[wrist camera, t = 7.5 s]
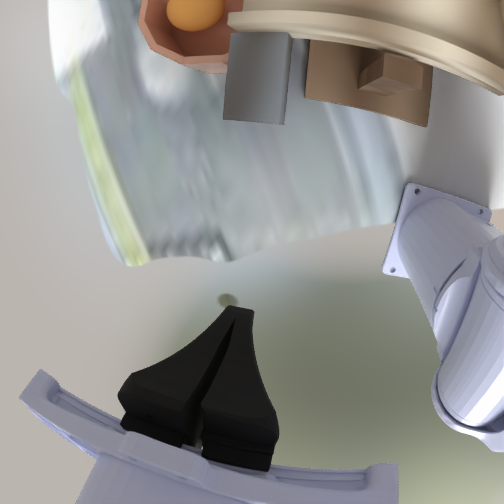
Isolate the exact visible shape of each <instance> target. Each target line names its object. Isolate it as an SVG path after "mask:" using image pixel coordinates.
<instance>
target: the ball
mask: <svg viewBox="0 0 504 504" xmlns="http://www.w3.org/2000/svg"><path fill="white" fill-rule="evenodd" d="M224 11H225V0H169V1H168V4H167V9H166V12H167V17H168V19H169V21H170V22H171V23H172V24H173V25H174V26H175V27H177V28H179V29H181V30H184V31H189V32H197V31H202V30H205V29H208V28H210V27H212V26H213V25H215V24H216V23H217V22H218V21H219V20H220V19H221V17H222V16H223V14H224Z"/></svg>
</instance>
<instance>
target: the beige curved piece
mask: <svg viewBox="0 0 504 504" xmlns="http://www.w3.org/2000/svg"><path fill="white" fill-rule="evenodd" d="M227 25H229V26H230V27H232V28H234V29H235V30H237V31H238V32H240V33H231V37H230V46H229V56H228V66H227V76H226V87H225V99H224V111H223V120H238V121H250V122H260V123H269V124H278V125H284V120H285V111H286V101H287V92H288V82H289V72H290V62H291V51H292V40H293V38H302V39H314V40H323V41H331V42H339V43H345V44H351V45H357V46H362V47H367V48H372V49H376V50H381V51H385V52H389V53H393V54H397V55H400V56H404V57H407V58H411V59H414V60H417V61H420V62H423V63H426V64H429V65H432V66H435V67H437V68H440V69H443V70H445V71H448V72H450V73H453V74H455V75H457V76H460V77H462V78H464V79H467V80H469V81H471V82H473V83H475V84H477V85H479V86H481V87H483V88H485V89H487V90H489V91H491V92H493V93H495V94H497V95H498V96H501V95H504V0H244V2H243V10H242V12H231V13H228V21H227Z"/></svg>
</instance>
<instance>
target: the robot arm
mask: <svg viewBox="0 0 504 504" xmlns="http://www.w3.org/2000/svg"><path fill="white" fill-rule="evenodd" d="M417 188H418V189H419V191H418V193H415V189H417ZM480 209H481V212H480V213H479V210H480ZM491 215H492V212H491V210H490V209H489V208H487V207H484V206H481V205H479V204H476V203H473V202H471V201H468V200H465V199H462V198H459V197H456V196H454V195H451V194H448V193H444V192H441V191H438V190H435V189H432V188H428V187H425V186H422V185H418V184H415V183H408V184H407V185H406V187H405V190H404V194H403V198H402V202H401V206H400V210H399V213H398V217H397V220H396V224H395V227H394V231H393V234H392V237H391V240H390V243H389V247H388V250H387V253H386V256H385V259H384V262H383V264H382V271H383V273H385V274H388V275H394V276H400V277H406V278H410V280H411V282H412V284H413V286H414V288H415V290H416V293H417V295H418V297H419V299H420V301H421V303H422V306H423V308H424V310H425V312H426V315H427V317H428V319H429V322H430V324H431V326H432V329H433V331H434V334H435V337H436V339H437V341H438V346H437V351H438V354H439V357H440V360H441V362H442V363H441V365H440V367H439V369H438V370H437V372H436V373H435V376H434V378H433V383H432V400H433V403H434V407H435V409H436V411H437V413H438V415H439V416H440V418H441V419H442V420H443V421H444V422H445V423H446V424H447V425H448V426H450V427H451V428H452V429H454V430H456V431H458V432H462V433H466V434H469V435H472V436H474V437H477V438H478V439H480V440H481V441H483V442H484V443H485V444H486V445H487V446H488V447H489V448H490V449H491V450H492V451H494V452H504V234H503V233H502V232H501V231H500V230H499V229H497V228H496V227H495V226H494V225H493V224H491V223H490V219H491ZM391 268H394V270H392V271H391V270H390V269H391ZM253 319H254V311H253V310H250V309H245V308H240V307H235V306H231V305H229V306H227V307H226V308H225V310H224V311H223V312H222V313H221V314H220V316H219V317H218V318H217V319H216V320H215V321H214V322H213V323H212V324H211V325H210V326H209V327H208V328H207V329H206V330H205V331H204V332H203V333H202V334H200V335H199V336H198V337H197V338H196V339H195V340H193V341H192V342H191V343H189V344H188V345H187V346H185V347H184V348H183V349H181V350H180V351H178V352H176V353H175V354H173V355H172V356H170V357H168V358H166V359H165V360H162V361H160V362H159V363H156V364H154V365H152V366H150V367H147V368H145V369H142V370H139V371H137V372H134V373H131V375H130V376H129V377H128V378H127V380H126V381H125V382H124V384H123V386H122V387H121V389H120V391H119V392H118V399H119V401H120V403H121V405H122V406H123V408H124V409H125V411H126V413H125V415H124V417H123V418H122V420H120V419H118V418H116V417H114V416H112V415H110V414H108V413H106V412H104V411H102V410H100V409H98V408H96V407H94V406H92V405H90V404H88V403H87V402H85V401H83V400H81V399H80V398H78V397H76V396H75V395H73V394H71V393H70V392H68V391H66V390H65V389H63V388H61V387H60V385H59V383H58V382H57V381H56V380H55V379H54V378H53V377H52V376H51V375H49V374H48V373H46V372H45V371H43V370H41V369H40V370H39V371H38V372H37V374H36V375H35V376H34V378H33V379H32V380H31V381H30V383H29V384H28V386H27V387H26V388H25V389H24V391H23V392H22V394H21V395H20V396H19V399H20V400H21V401H22V402H23V403H24V404H25V405H26V406H27V408H28V409H29V410H30V411H31V412H32V413H33V414H34V415H35V416H36V417H37V418H38V419H39V420H41V421H42V422H43V423H44V424H46V425H47V426H48V427H50V428H51V429H53V430H54V431H55V432H56V433H58V434H59V435H60V436H62V437H63V438H65V439H66V440H68V441H69V442H70V443H72V444H73V445H75V446H76V447H78V448H79V449H81V450H82V451H84V452H85V453H87V454H89V455H90V456H92V457H94V458H95V459H97V461H96V463H95V465H94V467H93V469H92V471H91V473H90V475H89V477H88V479H87V481H86V483H85V485H84V487H83V489H82V491H81V493H80V495H79V497H78V499H77V501H76V503H75V504H398V463H396V462H394V463H382V464H374V465H371V466H369V467H368V468H367V469H361V470H360V469H359V470H332V469H311V468H298V467H288V466H280V465H272V464H271V460H272V455H273V453H274V447H275V445H276V443H277V441H278V439H279V425H278V420H277V416H276V411H275V409H274V407H273V405H272V403H271V401H270V399H269V397H268V395H267V392H266V390H265V387H264V384H263V382H262V379H261V376H260V373H259V369H258V365H257V361H256V357H255V351H254V344H253V334H252V327H253ZM202 446H203V450H201V448H202Z"/></svg>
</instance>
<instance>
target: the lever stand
mask: <svg viewBox="0 0 504 504" xmlns="http://www.w3.org/2000/svg"><path fill="white" fill-rule="evenodd" d="M432 74H433V66H432V65H429V64H426V63H423V62H420V61H417V60H414V59H411V58H407V57H404V56H400V55H397V54H393V53H389V52H385V51H381V50H376V49H372V48H367V47H362V46H357V45H351V44H345V43H339V42H331V41H323V40H314V39H310V50H309V61H308V71H307V81H306V91H305V98H306V99H313V100H319V101H325V102H330V103H336V104H341V105H345V106H350V107H355V108H359V109H363V110H367V111H372V112H375V113H379V114H383V115H387V116H390V117H394V118H397V119H400V120H404V121H407V122H410V123H413V124H416V125H419V126H422V127H427V123H428V116H429V108H430V99H431V88H432Z"/></svg>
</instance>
